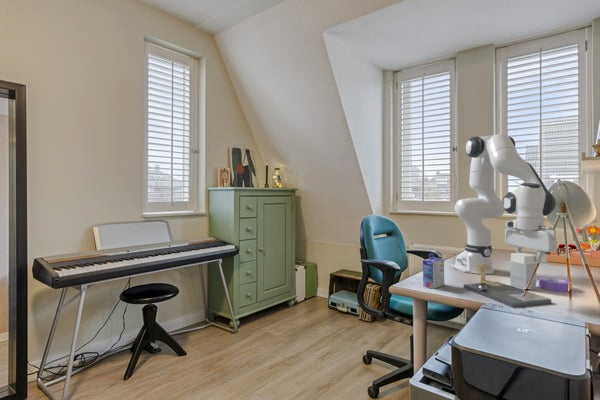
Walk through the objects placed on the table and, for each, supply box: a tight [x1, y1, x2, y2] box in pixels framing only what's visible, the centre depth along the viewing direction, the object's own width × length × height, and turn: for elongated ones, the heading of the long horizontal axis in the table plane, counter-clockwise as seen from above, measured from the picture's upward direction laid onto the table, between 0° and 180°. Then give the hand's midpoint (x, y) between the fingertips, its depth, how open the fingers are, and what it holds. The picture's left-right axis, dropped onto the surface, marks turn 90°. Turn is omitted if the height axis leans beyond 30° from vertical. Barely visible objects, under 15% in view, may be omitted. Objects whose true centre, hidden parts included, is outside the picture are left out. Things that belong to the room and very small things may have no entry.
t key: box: [476, 264, 501, 286], centre depth 142 cm, size 7×8×9 cm
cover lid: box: [510, 251, 548, 264], centre depth 135 cm, size 6×11×3 cm, turn 104°
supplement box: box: [509, 258, 537, 291], centre depth 153 cm, size 7×7×13 cm
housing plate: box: [463, 281, 552, 308], centre depth 143 cm, size 26×18×3 cm
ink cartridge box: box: [422, 252, 445, 289], centre depth 156 cm, size 10×6×14 cm, turn 129°
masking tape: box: [538, 276, 569, 293], centre depth 153 cm, size 12×12×4 cm
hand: (529, 259), depth 135 cm, fingers closed on cover lid, 6 cm apart
